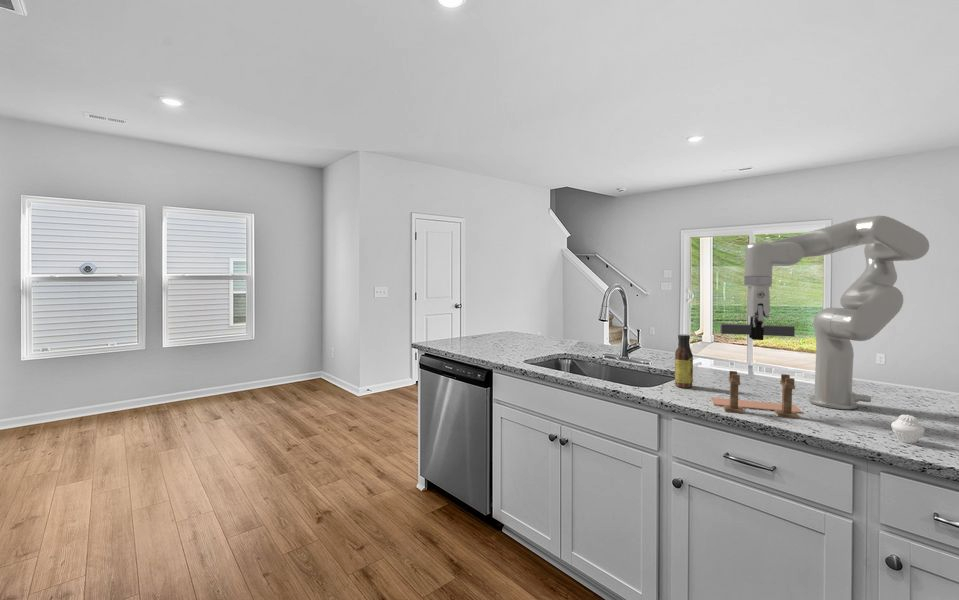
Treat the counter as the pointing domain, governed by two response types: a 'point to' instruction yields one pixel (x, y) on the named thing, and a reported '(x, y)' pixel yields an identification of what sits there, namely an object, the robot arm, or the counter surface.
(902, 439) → the muffin
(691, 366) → the sauce bottle
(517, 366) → the counter surface
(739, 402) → the mat
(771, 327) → the rail
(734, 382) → the hook stands
